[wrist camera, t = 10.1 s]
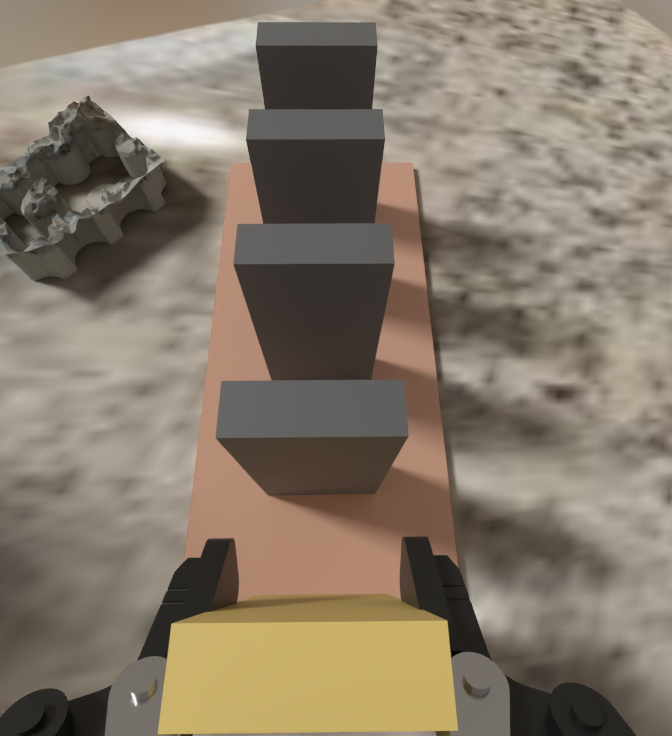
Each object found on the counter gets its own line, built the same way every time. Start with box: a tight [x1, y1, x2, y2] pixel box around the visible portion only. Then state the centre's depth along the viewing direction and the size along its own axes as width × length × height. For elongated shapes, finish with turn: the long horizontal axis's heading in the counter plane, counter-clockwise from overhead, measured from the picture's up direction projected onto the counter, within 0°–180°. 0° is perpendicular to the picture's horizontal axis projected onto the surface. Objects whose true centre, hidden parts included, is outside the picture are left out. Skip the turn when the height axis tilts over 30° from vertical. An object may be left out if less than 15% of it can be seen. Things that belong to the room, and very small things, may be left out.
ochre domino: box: [158, 594, 458, 734], centre depth 12 cm, size 2×5×10 cm, turn 90°
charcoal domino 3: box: [233, 223, 395, 380], centre depth 19 cm, size 2×5×10 cm, turn 91°
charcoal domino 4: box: [215, 379, 409, 495], centre depth 16 cm, size 2×5×10 cm, turn 91°
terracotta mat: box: [184, 163, 458, 602], centre depth 23 cm, size 30×12×1 cm, turn 1°
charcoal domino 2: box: [246, 109, 385, 224], centre depth 21 cm, size 2×5×10 cm, turn 90°
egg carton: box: [0, 96, 166, 281], centre depth 26 cm, size 11×8×4 cm
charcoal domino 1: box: [256, 22, 377, 109], centre depth 23 cm, size 2×5×10 cm, turn 91°
